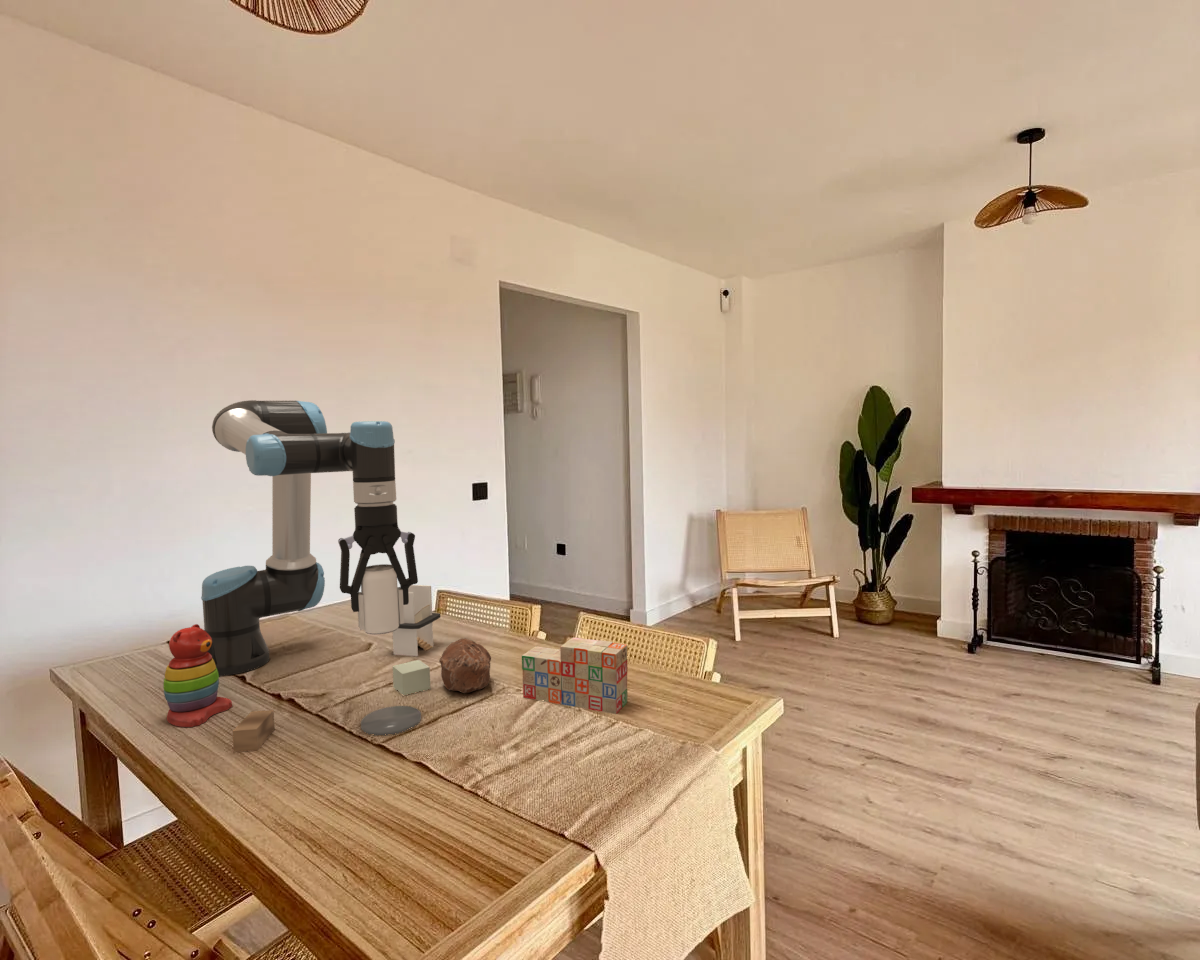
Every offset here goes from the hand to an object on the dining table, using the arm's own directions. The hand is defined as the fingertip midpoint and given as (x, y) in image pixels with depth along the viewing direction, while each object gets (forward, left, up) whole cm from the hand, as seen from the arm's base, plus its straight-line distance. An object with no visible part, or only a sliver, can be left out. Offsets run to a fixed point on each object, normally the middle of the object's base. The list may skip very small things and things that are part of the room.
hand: (381, 624), depth 121 cm
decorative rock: (-9, +19, -20) cm, 29 cm away
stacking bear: (-25, -32, -20) cm, 45 cm away
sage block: (-15, +8, -19) cm, 26 cm away
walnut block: (-6, -22, -20) cm, 30 cm away
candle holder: (-39, +15, -20) cm, 46 cm away
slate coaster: (0, +1, -19) cm, 19 cm away
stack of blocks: (+10, +36, -20) cm, 42 cm away
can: (0, 0, -1) cm, 1 cm away
